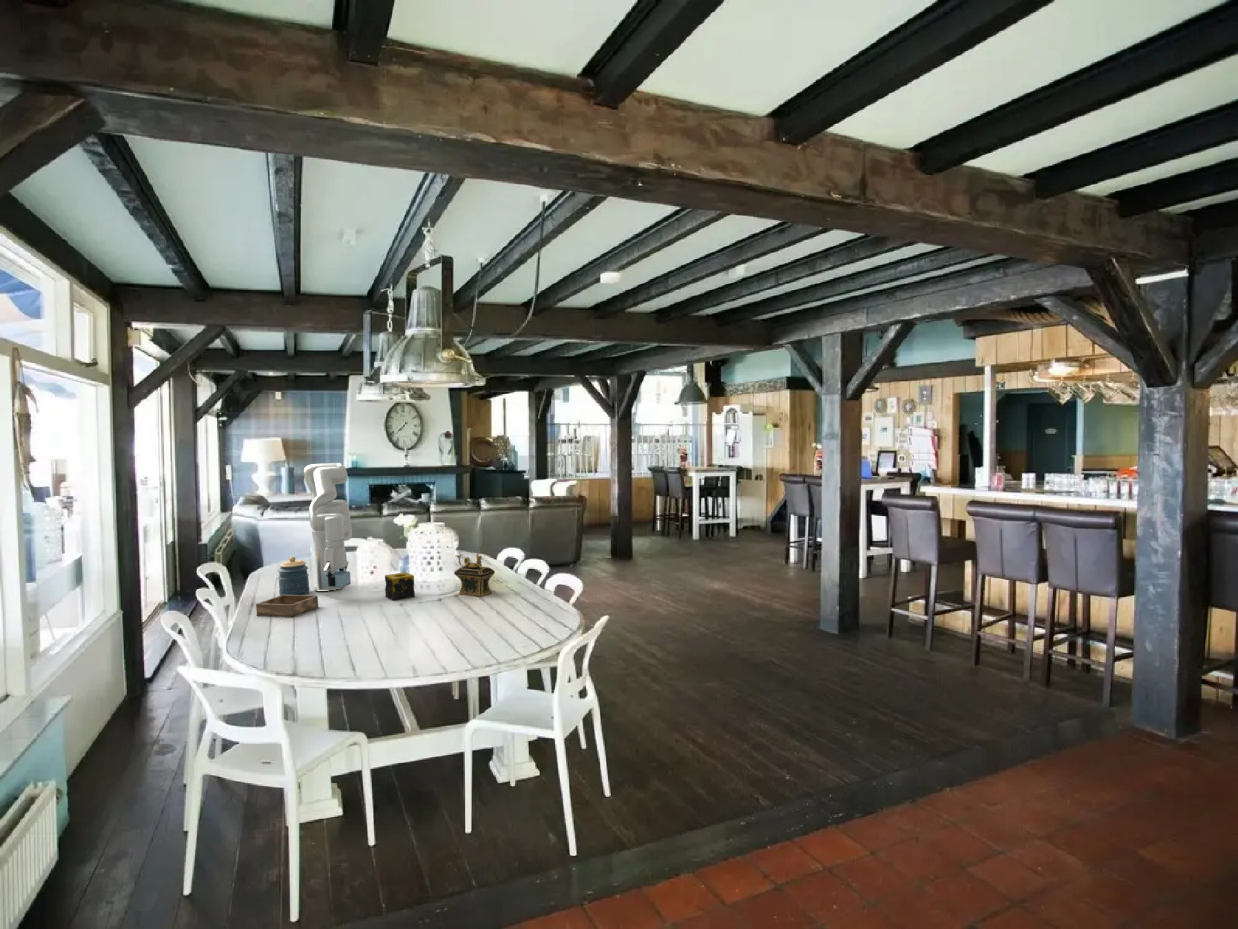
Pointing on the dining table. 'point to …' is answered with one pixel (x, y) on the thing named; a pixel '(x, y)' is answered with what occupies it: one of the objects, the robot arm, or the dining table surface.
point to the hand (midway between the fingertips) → (337, 583)
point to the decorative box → (474, 577)
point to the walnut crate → (287, 605)
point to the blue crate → (338, 579)
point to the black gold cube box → (399, 586)
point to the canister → (293, 578)
